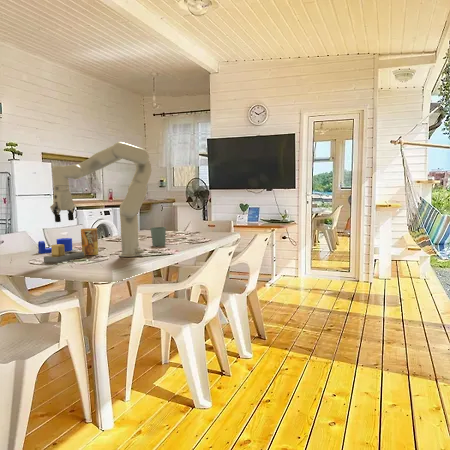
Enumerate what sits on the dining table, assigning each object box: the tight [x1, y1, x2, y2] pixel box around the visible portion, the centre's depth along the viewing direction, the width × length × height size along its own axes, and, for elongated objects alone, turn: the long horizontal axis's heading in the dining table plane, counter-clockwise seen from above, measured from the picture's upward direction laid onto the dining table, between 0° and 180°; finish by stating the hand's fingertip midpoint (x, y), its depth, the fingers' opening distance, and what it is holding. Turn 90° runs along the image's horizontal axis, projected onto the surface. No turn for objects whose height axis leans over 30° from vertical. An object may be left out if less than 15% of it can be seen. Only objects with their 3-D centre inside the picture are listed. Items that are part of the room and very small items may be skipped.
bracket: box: [37, 237, 73, 255], centre depth 251 cm, size 20×9×8 cm, turn 133°
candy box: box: [80, 227, 99, 256], centre depth 235 cm, size 9×4×15 cm, turn 104°
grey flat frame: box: [43, 250, 85, 264], centre depth 219 cm, size 20×9×3 cm, turn 158°
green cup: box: [150, 226, 167, 247], centre depth 270 cm, size 10×10×12 cm
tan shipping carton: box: [50, 243, 65, 256], centre depth 215 cm, size 5×4×8 cm
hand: (64, 221), depth 217 cm, fingers open, 9 cm apart
